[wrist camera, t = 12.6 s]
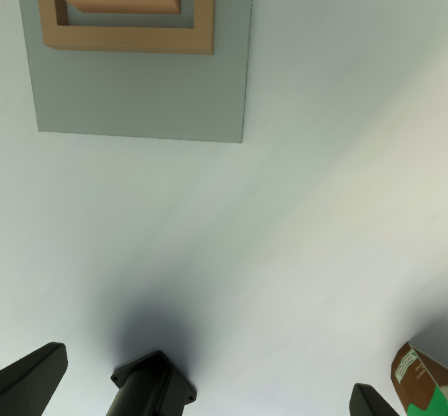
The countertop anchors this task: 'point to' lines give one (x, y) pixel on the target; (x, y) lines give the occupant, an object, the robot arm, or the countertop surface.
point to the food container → (420, 382)
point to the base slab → (140, 70)
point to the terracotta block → (128, 6)
